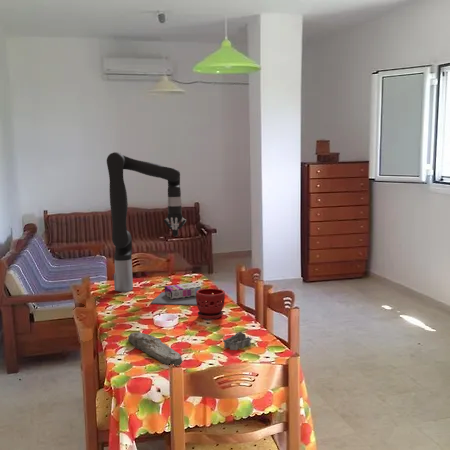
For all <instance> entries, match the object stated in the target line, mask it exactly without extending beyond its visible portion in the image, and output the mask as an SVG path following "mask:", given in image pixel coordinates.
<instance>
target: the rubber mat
mask: <svg viewBox="0 0 450 450" xmlns="http://www.w3.org/2000/svg"><path fill="white" fill-rule="evenodd" d="M150 305H169V306H171V305H172V306H174V305H175V306H197V302H196V296H193V297H185V298H178V299H170V298H169V297H168V296H166V295H165V291H162V292H160V293H159V294H158V295H157V296H156V297H155V298H154V299H153V300H152V301H151V302H150Z"/></svg>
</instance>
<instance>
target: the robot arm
mask: <svg viewBox="0 0 450 450" xmlns="http://www.w3.org/2000/svg"><path fill="white" fill-rule="evenodd" d="M106 166H107V171H108V177H109V205H110V216H111V222H112V223H111V224H112V232H111V233H112V234H111V237H112V238H111V240H112V241H111V242H112V244H113V245H114V249H115V251H114V255H113V256H114V257H113V258H114V273H113V284H114V291H115V292H121V293H122V292H130V291H133V290H134V285H133V283H134V282H133V280H134V279H133V263H132V260H133V259H132V254H133V240H132V234H131V232H130V231H128V230H127V215H128V206H129V203H128V193H127V188H126V184H125V180H124V170H127V171H128V170H129V171H134V172H137V173H138V174H139V173H140V174H143V175H146V176H150V177H153V178H159V179H163V180H165V181H167V217H166V218H165V219H164V220H163V222H164V224H166V226H167V227H168V229H170V230H172V236H173V237H175V238H176V237H178V236H179V230H180V229H182V228H183V226H184V225H185V223H186V222H187V219H185V218H184V216H183V212H182V211H183V210H182V204H183V203H182V196H181V195H182V191H181V171H180V170H179V169H178V168H175V167H168V166H163V165H161V164H157V163H153V162H150V161H145V160H138V159H134V158H131V157H129V156H126V155H124V154H122V153H121V152H115V151H114V152H112V153H109V155H107V158H106Z"/></svg>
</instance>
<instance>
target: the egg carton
mask: <svg viewBox="0 0 450 450" xmlns="http://www.w3.org/2000/svg"><path fill="white" fill-rule="evenodd" d="M251 340H253V338H252V337H251V336H250V337H249V335H247V336H246V334H245V333H243V331H238V332H236V333H235V334H234V335H232V336H230V337H227V338H226V339H224V340H223V339H222V342H223V344H224V345H223V346H224V347H223V348H227V349H228V348H229V350H230V351H238V350H239V348H240V349H241V348H242V349H243V348H245V347H246V346H251V344H252V343H251Z"/></svg>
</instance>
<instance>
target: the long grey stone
mask: <svg viewBox="0 0 450 450" xmlns="http://www.w3.org/2000/svg"><path fill="white" fill-rule="evenodd" d="M127 339H128V342H129V343H131V344H132V346H134V347H135V349H138V350H140V351H142V352H143V353H144V354H145V353H146V354H147V355H149V357H153V358H154V359H155V360H157V361H159V362H160V363H163V364H164V365H168V366H170V365H169V364H174V365H175V366H178V365H181V364H182V362H183V359H182V355H181V354H180V353H179V352H178V351H176V350H175V349H173V348H171V347H170V346H169V345H167V344H166V343H164V342H162V340H161V339H160V338H159V337H155V336H153V335H152V334H146V333H144V332H138V331H137V332H131V333H130V334H129V335H127Z"/></svg>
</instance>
